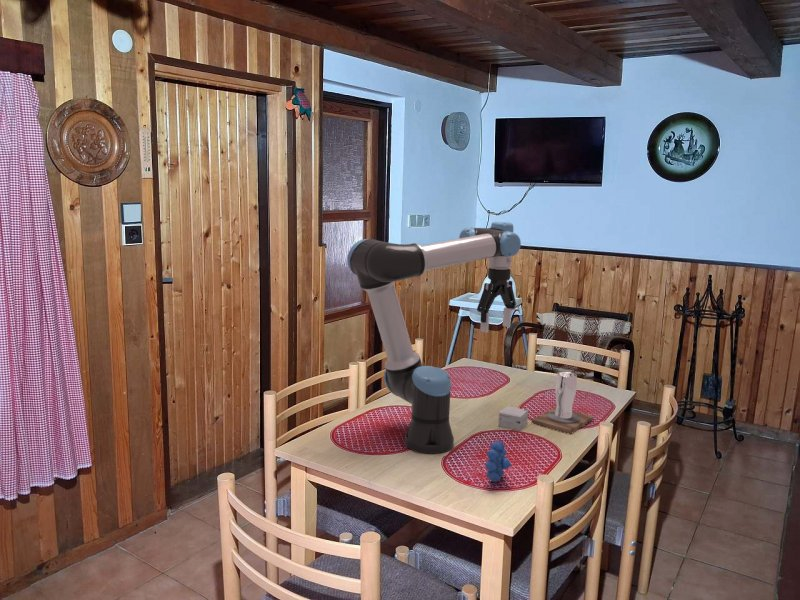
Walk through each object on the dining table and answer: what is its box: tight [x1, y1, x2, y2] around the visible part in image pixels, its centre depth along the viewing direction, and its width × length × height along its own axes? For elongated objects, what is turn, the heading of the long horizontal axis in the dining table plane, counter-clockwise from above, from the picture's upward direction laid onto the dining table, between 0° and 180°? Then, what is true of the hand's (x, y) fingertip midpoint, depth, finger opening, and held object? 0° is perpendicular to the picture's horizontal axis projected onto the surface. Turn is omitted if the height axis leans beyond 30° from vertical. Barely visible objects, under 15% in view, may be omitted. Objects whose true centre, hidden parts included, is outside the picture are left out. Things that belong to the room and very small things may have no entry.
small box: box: [498, 405, 529, 431], centre depth 223 cm, size 8×8×5 cm
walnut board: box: [531, 407, 595, 435], centre depth 227 cm, size 18×14×2 cm
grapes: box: [484, 440, 512, 483], centre depth 178 cm, size 12×7×12 cm, turn 153°
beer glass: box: [554, 371, 578, 419], centre depth 226 cm, size 7×7×15 cm
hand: (495, 329), depth 227 cm, fingers open, 13 cm apart
